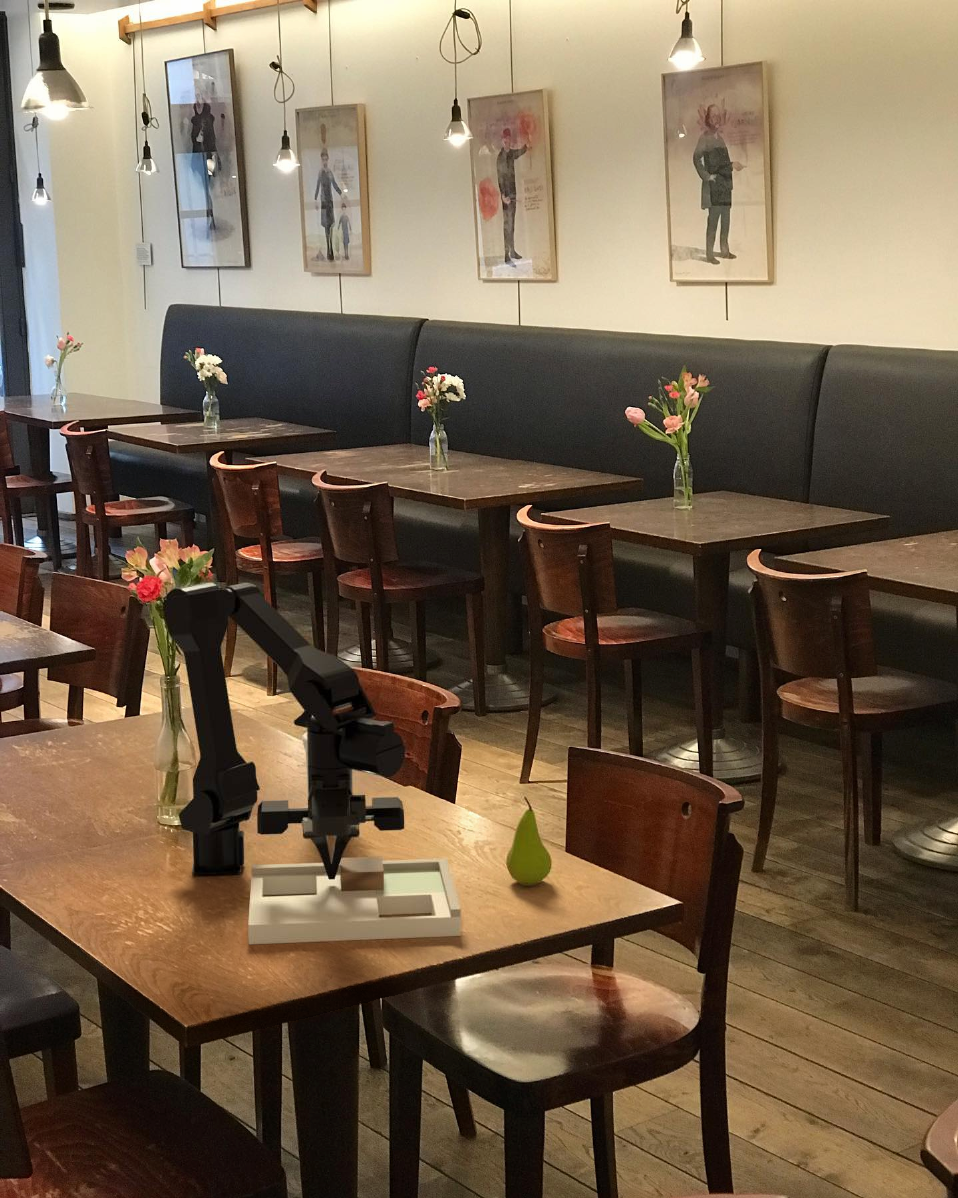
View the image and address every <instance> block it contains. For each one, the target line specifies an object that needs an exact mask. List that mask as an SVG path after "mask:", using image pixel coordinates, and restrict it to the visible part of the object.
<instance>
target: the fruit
mask: <svg viewBox="0 0 958 1198" xmlns="http://www.w3.org/2000/svg"><path fill="white" fill-rule="evenodd" d="M523 799H524V801H525V802H526V803H527V806H528V809H526V811H524V813H523V815H522V816H521V817H520V818H519V819H520V820H519V821H518V823H517V826H516V829H515V832H514V836H513V841H512V845H511V847H510V849H509V851H508V853H507V856H506V862H505V865H506V869H507V870H508V873H509V875H510V876H511V878H512V879H514V880H515V881H516V882H517V883H518V884H521V886H525V887H530V886H531V887H532V886H535V885H537V884H539V883H540V882H542V881H543V880H544V879H546V878H547V877H548V875H549V874H550V872H551V870H552V863H553V862H552V861H553V860H552V858H551V854H550V853H549V850H548V849H547V848H546V847H545V845H544V843H543V842H542V840H541V837H540V833H539V831H538V830H539V829H538V825H537V824H538V823H537V819H536V815H535V812H534V810H533V808H532V806H531V804H530V801H529V800H528V798H527V797H526V796H524V797H523Z"/></svg>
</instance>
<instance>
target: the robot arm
mask: <svg viewBox="0 0 958 1198" xmlns="http://www.w3.org/2000/svg"><path fill="white" fill-rule="evenodd" d="M162 612H163V618H164V620H165V624H166V628H167V631H168V634H169V637H170V638H171V639H172V640H173V641H174V643H175V644H176V645H177V646H178V648H179V649H180V650H181V651H182V652H183V656H184V661H185V668H186V669H185V670H186V674H187V675H186V676H187V680H188V686H189V687H188V688H189V693H190V694H189V695H190V700H191V706H192V712H193V719H194V725H195V730H196V731H195V732H196V736H197V737H196V738H197V743H198V750H199V760H198V762H197V766H196V768H195V771H194V775H193V777H192V794H193V795H192V799H191V800H190V801H189V802H188V804H187V805H186V806H185V807H184V808H183V809H182V810H181V811H180V812H179V814H178V818H179V822H180V824H181V825H180V826H181V829H182V830H183V831H184V830H185V831H188V832H190V833H192V853H193V855H192V857H193V865H192V868H191V869H192V871H191V874H192V876H213V875H214V876H216V875H239V874H241V868H242V866H244V865H245V859H246V857H245V831H244V830H240V823H243V822H247V821H249V820H250V819H251V814H252V812H253V808H254V806H255V804H257V802H258V792H259V791H260V790H261V787H260V785H259V783H258V780H257V766H256V765H255V763H254V761H249V762H247V761H246V760H245V759H244V757H243V756H242V755H241V754H240V752H239V751H238V749H237V743H236V736H235V730H234V723H233V717H232V711H231V705H230V699H229V690H228V685H227V680H226V673H225V668H224V661H223V654H222V653H223V652H222V645H223V642H224V638H225V636H226V633H227V629H228V627H229V618H230V620H232V621H233V622H234V623H235V624H236V625H237V626H238V627H239V628H240V629H241V630H242V631H243V632H244V633H245V634H246V635H247V636H248V637H249V638H250V639H251V640H252V641H253V643H255V644H256V645H257V646H258V647H259V648H260V649H261V651H263V652H264V653H265V655H267V656H268V657H269V659H270V660H272V662H274V664H276V665H277V667H279V669H281V670H282V672H283V674H285V676H286V678H287V679H286V680H287V683H288V688H289V692H290V693H291V694H292V696H293V697H294V698H295V700H296V701H297V702H298V704H299V705H300V706H301V708H302V709H303V712H302V713H301V714H300V715H299V716H298V717H297V718H295V719H294V720H293V724H294V725H295V726H296V727H301V728H305V729H306V732H307V754H308V784H307V807H298V808H296V807H295V808H289V800H288V799H287V800H286V799H285V800H262V801H261V802H260V803H259V804H258V805H257V813H256V814H257V815H256V819H257V822H256V824H257V826H256V827H257V834H259V835H261V836H262V835H282V834H283V833H284V832H286V830H288V829H289V824H301V827H302V838H303V839H306V840H307V839H308V840H311V842H313V844H314V846H315V848H316V849H317V852H318V853H319V856H320V858H321V861H322V862H321V863H323V865H324V867H325V870H326V873H327V876H328V879H329V880H331V879H335V877H336V873H337V870H338V867H339V864H340V861H341V858H343V855H344V852H345V850H346V848H347V846H348V843H349V842H350V841H351V840H352V838H357V837H359V836H360V833H361V832H360V825H361V824H365V823H366V822H373V826H374V827H375V828H377V829H378V830H379V832H382V831H383V832H386V831H387V832H388V831H403V830H404V829H405V811H404V804H403V800H401V798H399V797H398V796H393V797H392V796H390V797H389V796H388V797H386V796H385V797H372V798H371V805H368V806H366V804H367V803H366V802H367V800H366V794H353V793H354V792H353V790H354V789H353V786H354V785H353V784H354V781H353V782H352V770H353V771H357V772H360V773H361V772H362V773H366V774H370V775H374V776H378V777H383V778H392V777H394V776H395V775H397V773H398V772H399V771H400V769H401V768H402V766H403V763H404V760H405V757H406V745H405V744H404V741H403V738H402V736H401V735H400V734H399V733H397V732H396V731H395V724H394V722H392V721H387V720H385V721H380V720H375V718H376V717H377V713H376V711H375V708H374V707H373V705H372V702H371V701H370V700H369V698H368V696H367V694H366V693H365V691H364V688H363V687H362V685H361V683H360V681H359V680H360V678H359V676H358V674H357V672H356V671H355V670H354V669H353V668H352V667H351V666H350V665H348V663H346V662H344V661H343V660H341V659H340V658H338V657H337V656H335V655H334V654H331V653H327V652H325V651H323V650H320V649H317V648H316V646H313V645H312V644H311V643H309V642H308V640H307V639H305V637H303V635H302V634H301V633H300V632H299V631H298V630H297V629H296V628H295V627H294V626H293V625H292V624H291V623H290V622H288V620H287V619H285V617H284V616H283V615H282V614H281V613H280V612H278V611H277V610H276V609H275V608H274V607H273V606H272V604H271V603H269V602H268V600H267V599H265V597H263V596H262V593H261V590H260V589H259V588H258V586H256V585H255V584H254V583H249V582H242V583H238V584H232V585H228V586H224V587H220V586H218V585H217V584H216V583H215V582H210V581H207V582H202V583H197V584H191V585H187V586H181V587H176V588H173V589H171V590H170V591H169V592H167V594H166V596H165V598H164V599H163V601H162ZM347 708H351V709H349V710H345V711H343V712H339V713H336V714H334V713H335V712H337V711H340V710H344V709H347ZM328 836H329V837H330V836H333V846H332V853H331V852H330V847H329V839H328ZM330 853H331V854H332V855H331V854H330Z"/></svg>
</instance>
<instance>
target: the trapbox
mask: <svg viewBox="0 0 958 1198" xmlns="http://www.w3.org/2000/svg"><path fill="white" fill-rule="evenodd" d="M382 862H383V870H384V890H365V891H341V880H340V864H339V867H338V870H337V873H336V877H335V879H331V880H329V879H328V876H327V873H326V870H325V867H324V865H323V862H305V863H279V864H277V863H276V864H275V863H274V864H251V869H250V870H251V878H250V879H251V881H250V894H249V895H250V897H249V908H248V909H249V910H248V925H247V926H248V928H247V929H248V930H247V931H248V933H247V934H248V945H267V944H268V945H269V944H290V943H292V944H293V943H296V944H297V943H313V942H318V943H320V942H339V941H342V942H343V941H364V940H367V941H368V940H369V941H370V940H389V939H391V940H392V939H414V938H415V939H416V938H442V937H461V934H462V933H461V925H462V924H461V920H462V919H461V917H462V916H461V913H462V911H461V910H462V909H461V905H460V902H459V899H458V895H457V892H456V891H457V890H456V887H455V883H454V881H453V880H454V879H453V876H452V873H451V869H450V865H449V861H448V858H447V857H445V858H444V857H443V858H425V859H424V858H423V859H421V858H420V859H418V858H417V859H395V860H394V859H391V860H390V859H389V860H388V859H387V860H382ZM297 894H298V895H297ZM301 894H302V895H301ZM307 894H308V895H307ZM272 895H273V896H272ZM274 895H275V896H274ZM278 895H279V896H278ZM418 914H431V915H419V916H417V915H418ZM388 915H389V916H391V915H415V916H394V917H393V916H392V917H380V916H388Z"/></svg>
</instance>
